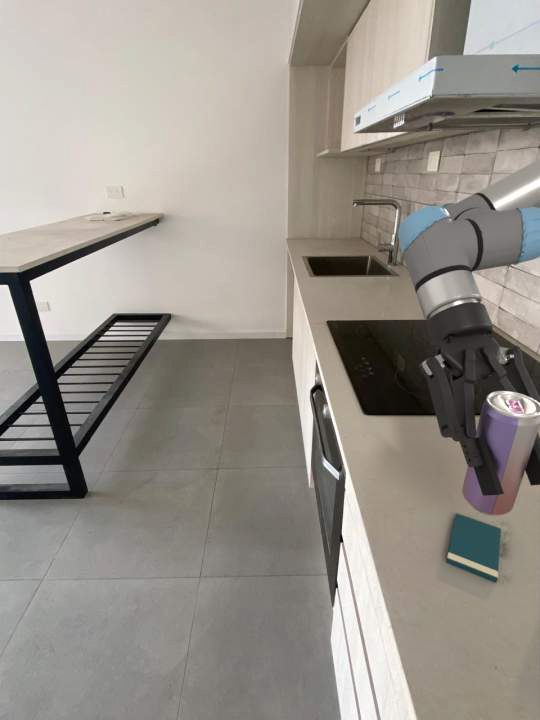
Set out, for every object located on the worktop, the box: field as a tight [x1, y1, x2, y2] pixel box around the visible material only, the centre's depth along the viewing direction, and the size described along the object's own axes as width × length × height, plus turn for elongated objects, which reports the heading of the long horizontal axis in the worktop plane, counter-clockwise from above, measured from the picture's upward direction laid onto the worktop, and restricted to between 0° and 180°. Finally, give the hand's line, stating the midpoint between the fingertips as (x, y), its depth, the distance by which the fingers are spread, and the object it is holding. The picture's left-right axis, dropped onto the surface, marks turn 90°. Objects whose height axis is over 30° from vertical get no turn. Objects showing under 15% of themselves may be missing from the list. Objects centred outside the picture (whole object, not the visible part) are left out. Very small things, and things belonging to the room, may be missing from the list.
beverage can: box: [461, 391, 540, 517], centre depth 48 cm, size 6×6×15 cm
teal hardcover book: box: [445, 512, 502, 584], centre depth 55 cm, size 9×6×1 cm, turn 150°
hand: (517, 489), depth 46 cm, fingers closed on beverage can, 6 cm apart
